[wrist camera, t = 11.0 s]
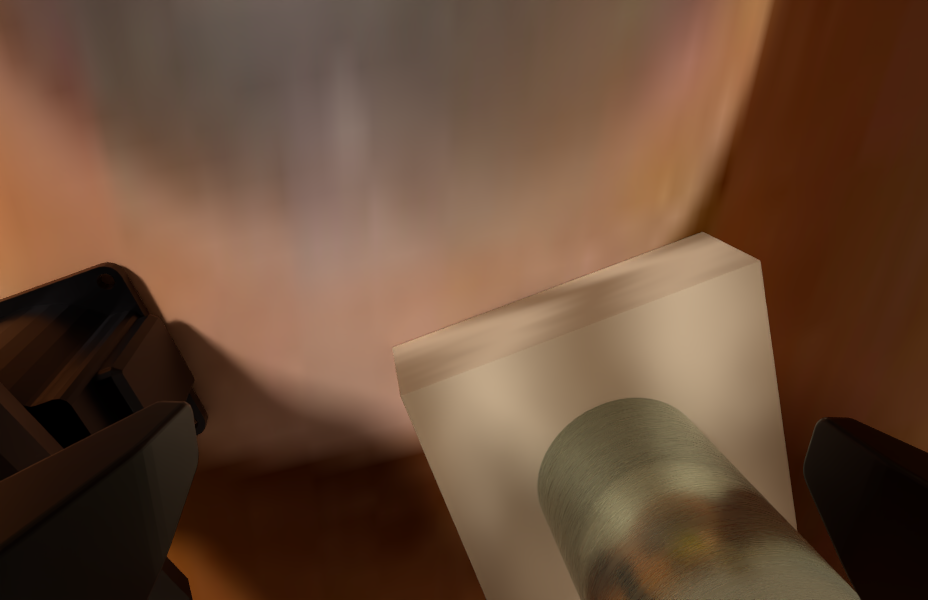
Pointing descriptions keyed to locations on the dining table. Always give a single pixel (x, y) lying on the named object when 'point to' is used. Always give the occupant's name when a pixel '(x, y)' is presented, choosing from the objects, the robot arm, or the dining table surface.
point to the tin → (668, 515)
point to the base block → (591, 393)
